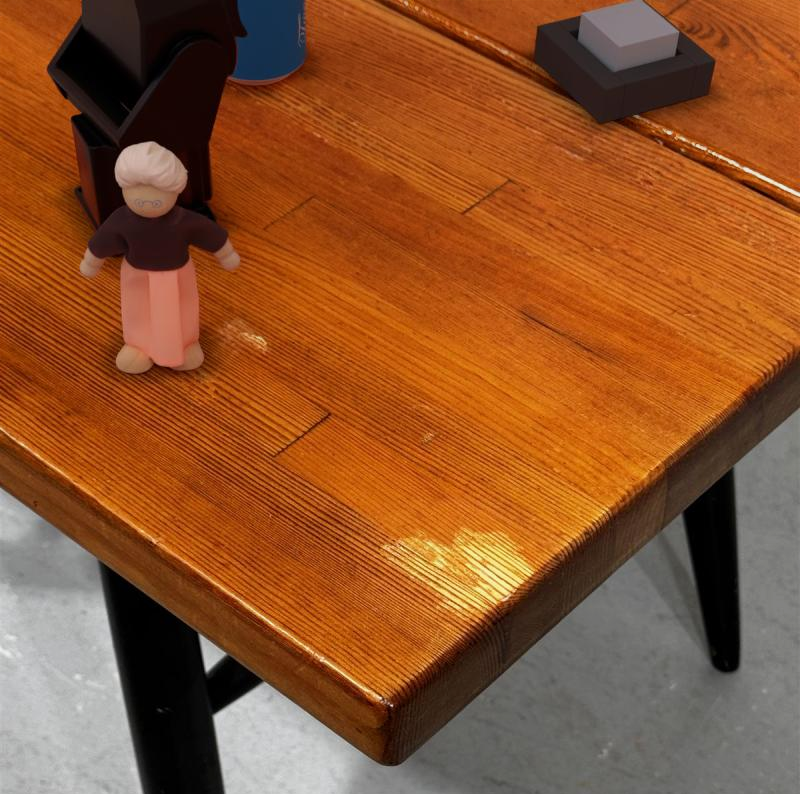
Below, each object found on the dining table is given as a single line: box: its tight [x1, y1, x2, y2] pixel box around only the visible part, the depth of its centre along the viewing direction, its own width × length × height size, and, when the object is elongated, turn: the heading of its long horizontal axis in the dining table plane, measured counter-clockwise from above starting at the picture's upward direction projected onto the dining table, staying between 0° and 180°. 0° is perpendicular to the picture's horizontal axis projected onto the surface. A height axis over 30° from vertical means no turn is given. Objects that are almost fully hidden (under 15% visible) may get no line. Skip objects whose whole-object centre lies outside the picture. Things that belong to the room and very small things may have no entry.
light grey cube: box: [578, 0, 679, 73], centre depth 93 cm, size 4×4×4 cm
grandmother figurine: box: [79, 142, 241, 375], centre depth 71 cm, size 8×4×13 cm, turn 106°
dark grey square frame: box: [533, 0, 717, 124], centre depth 94 cm, size 8×8×2 cm
